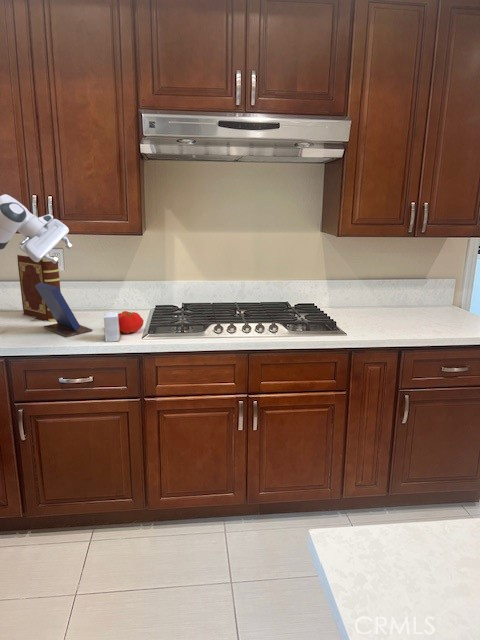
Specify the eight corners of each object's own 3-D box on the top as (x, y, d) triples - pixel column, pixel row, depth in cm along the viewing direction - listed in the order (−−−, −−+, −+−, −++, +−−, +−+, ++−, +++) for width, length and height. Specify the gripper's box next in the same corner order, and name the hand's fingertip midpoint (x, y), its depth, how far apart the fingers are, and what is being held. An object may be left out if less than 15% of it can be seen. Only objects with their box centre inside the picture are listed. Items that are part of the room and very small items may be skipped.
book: (75, 331, 201) (51, 290, 189) (58, 324, 210) (34, 285, 199) (80, 327, 202) (57, 286, 191) (63, 320, 212) (40, 282, 201)
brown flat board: (66, 337, 195) (66, 335, 195) (44, 328, 208) (43, 326, 208) (92, 332, 204) (92, 329, 204) (69, 323, 217) (68, 321, 217)
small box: (119, 341, 191) (117, 316, 189) (105, 342, 190) (103, 317, 188) (120, 335, 199) (118, 312, 196) (106, 336, 198) (104, 312, 195)
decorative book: (66, 319, 224) (60, 256, 216) (52, 322, 218) (45, 258, 210) (37, 312, 236) (31, 253, 228) (23, 315, 229) (16, 254, 221)
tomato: (146, 333, 202) (145, 314, 200) (117, 336, 198) (116, 317, 195) (140, 326, 214) (140, 308, 211) (113, 329, 209) (111, 310, 207)
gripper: (19, 241, 170) (50, 267, 174) (53, 211, 183) (81, 236, 187) (14, 249, 174) (45, 274, 178) (47, 219, 187) (75, 243, 192)
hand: (63, 254), depth 183 cm, fingers open, 8 cm apart
